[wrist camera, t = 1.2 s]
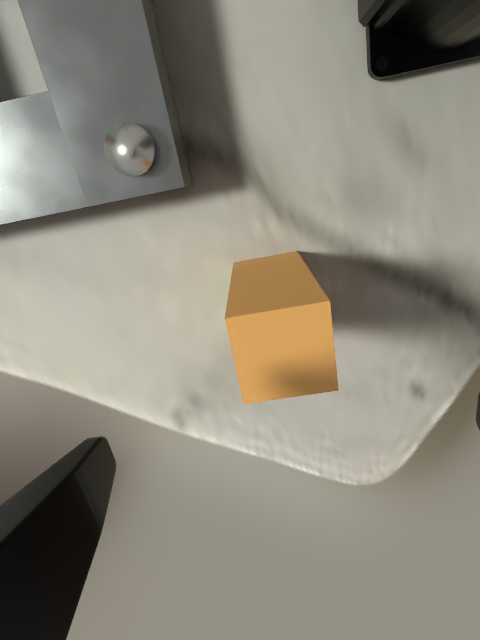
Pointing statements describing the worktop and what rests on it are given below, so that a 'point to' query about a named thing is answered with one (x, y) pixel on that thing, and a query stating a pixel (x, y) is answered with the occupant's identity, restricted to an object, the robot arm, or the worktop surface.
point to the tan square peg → (280, 329)
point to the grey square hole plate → (90, 112)
